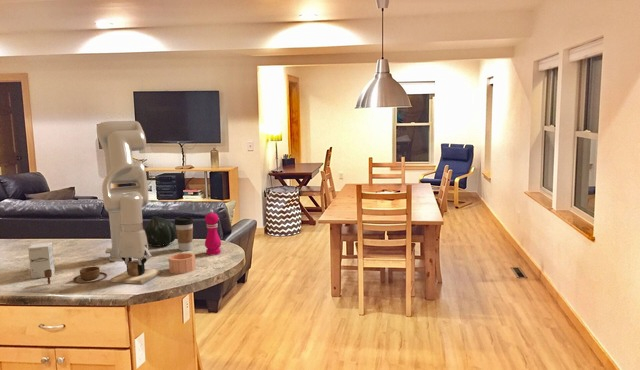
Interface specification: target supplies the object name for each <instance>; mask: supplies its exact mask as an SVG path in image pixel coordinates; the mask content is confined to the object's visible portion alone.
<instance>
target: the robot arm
mask: <svg viewBox="0 0 640 370" xmlns="http://www.w3.org/2000/svg"><path fill="white" fill-rule="evenodd" d="M96 135H97V138H98V141H99V143H100V145H101V147H102V149H103V153H104V158H105V170H106V171H105V172H106V176H105V178H104V179H103V182H102V186H101V191H102V200H103V206H104V209H105V211H106V212H107V213H108V217H109V228H110V242H111V247H107V248H106V250H105V254H109V255H110V256H109V257H108V261H110V262H113V263H116V262H124V265H126V271H127V273H128V262H130V261H133V260H138V262H139V265H138V275H142V274H144V273H145V269H146V268H145V264H146V262H148V260H149V259H151V258H152V257H153V256H152V254H151V253H150V251H149V244H148V242H147V237H146V233H145V229H144V223H143V221H144V220H143V210H142V209H143V208H142V207H146V206H147V205H148V204H149V188H148V178H147V169H146V167H145V164H144V163H143V162H142V161H140V160H134V159H133V158H134V157H133V152H135V151H137V152H138V151H144V150H145V149H146V147H147V138H146V134H145V131H144V130H143V127H142V125H141V123H140V122H139V121H137V120H111V121H110V120H109V121H107V120H106V121H102V122H100V123H98V124H97V125H96ZM111 184H113V185H121V184H135V185H130V186H129V185H126V186H116V187H112V188H111Z"/></svg>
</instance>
